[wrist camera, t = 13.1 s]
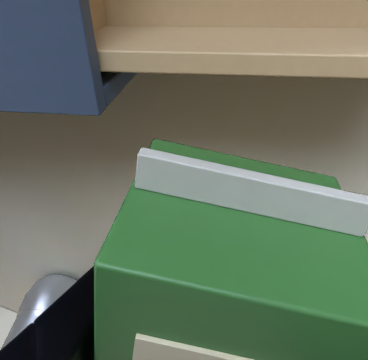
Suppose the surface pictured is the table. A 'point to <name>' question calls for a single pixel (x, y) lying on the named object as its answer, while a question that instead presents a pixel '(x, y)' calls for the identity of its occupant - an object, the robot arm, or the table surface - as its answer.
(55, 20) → the cabinet
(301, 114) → the table surface
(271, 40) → the drawer
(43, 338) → the robot arm
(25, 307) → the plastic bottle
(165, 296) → the green juice carton
